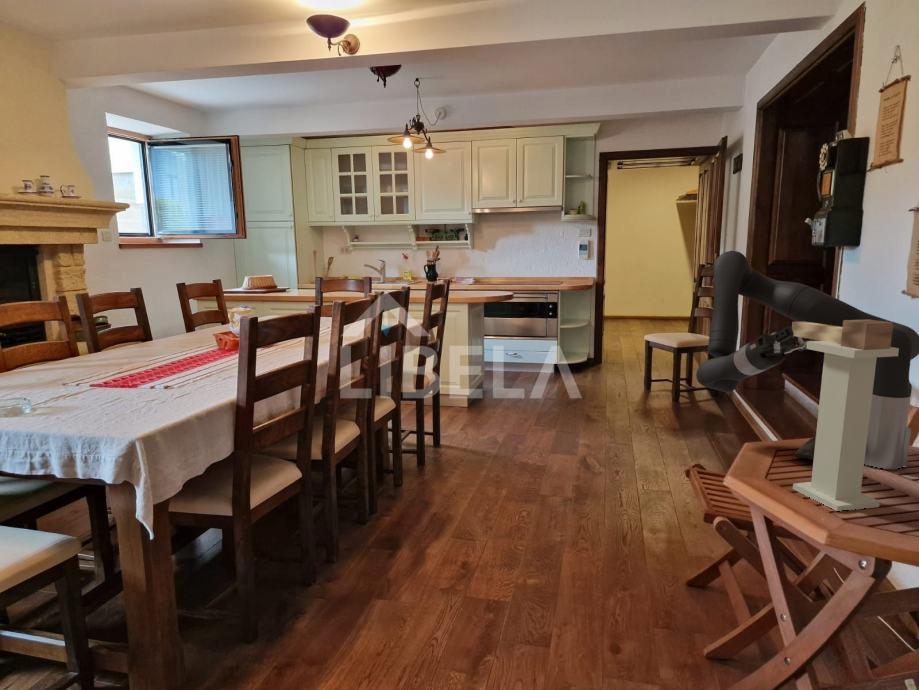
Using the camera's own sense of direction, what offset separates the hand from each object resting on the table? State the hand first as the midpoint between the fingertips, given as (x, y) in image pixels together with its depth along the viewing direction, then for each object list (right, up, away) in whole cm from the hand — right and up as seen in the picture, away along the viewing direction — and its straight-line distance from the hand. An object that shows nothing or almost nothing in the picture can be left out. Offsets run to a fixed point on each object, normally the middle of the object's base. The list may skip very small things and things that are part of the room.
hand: (808, 330), depth 120 cm
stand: (+2, -35, -5) cm, 35 cm away
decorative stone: (+14, -31, +19) cm, 39 cm away
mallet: (+1, -3, -6) cm, 7 cm away
